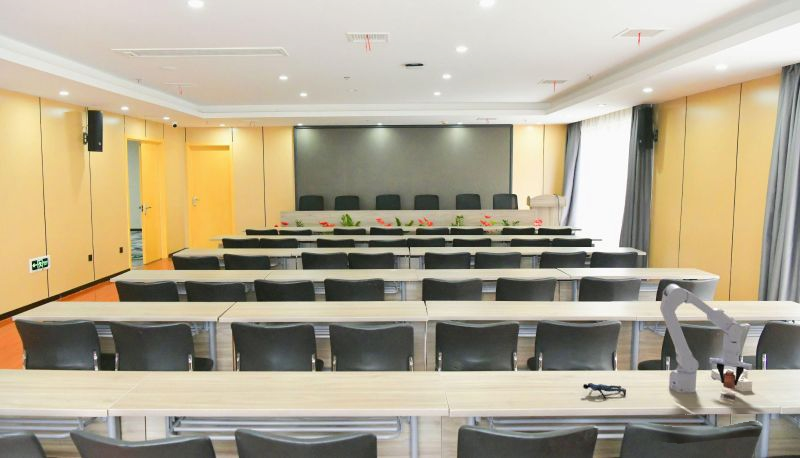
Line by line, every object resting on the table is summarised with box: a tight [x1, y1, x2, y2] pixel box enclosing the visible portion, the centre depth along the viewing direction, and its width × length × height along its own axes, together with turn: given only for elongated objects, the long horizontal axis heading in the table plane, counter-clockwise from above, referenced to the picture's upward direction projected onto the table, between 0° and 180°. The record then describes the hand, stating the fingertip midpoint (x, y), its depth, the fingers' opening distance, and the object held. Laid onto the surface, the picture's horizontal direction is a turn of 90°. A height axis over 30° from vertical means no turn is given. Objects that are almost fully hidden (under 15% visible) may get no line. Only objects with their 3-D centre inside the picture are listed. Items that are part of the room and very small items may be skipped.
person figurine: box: [582, 382, 627, 400], centre depth 224 cm, size 11×4×18 cm
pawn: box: [722, 371, 735, 390], centre depth 223 cm, size 4×4×6 cm
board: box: [718, 388, 736, 405], centre depth 220 cm, size 15×6×1 cm, turn 147°
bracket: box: [710, 368, 749, 381], centre depth 238 cm, size 13×7×8 cm, turn 3°
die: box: [734, 377, 753, 392], centre depth 228 cm, size 5×5×5 cm
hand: (729, 383), depth 224 cm, fingers closed on pawn, 4 cm apart
